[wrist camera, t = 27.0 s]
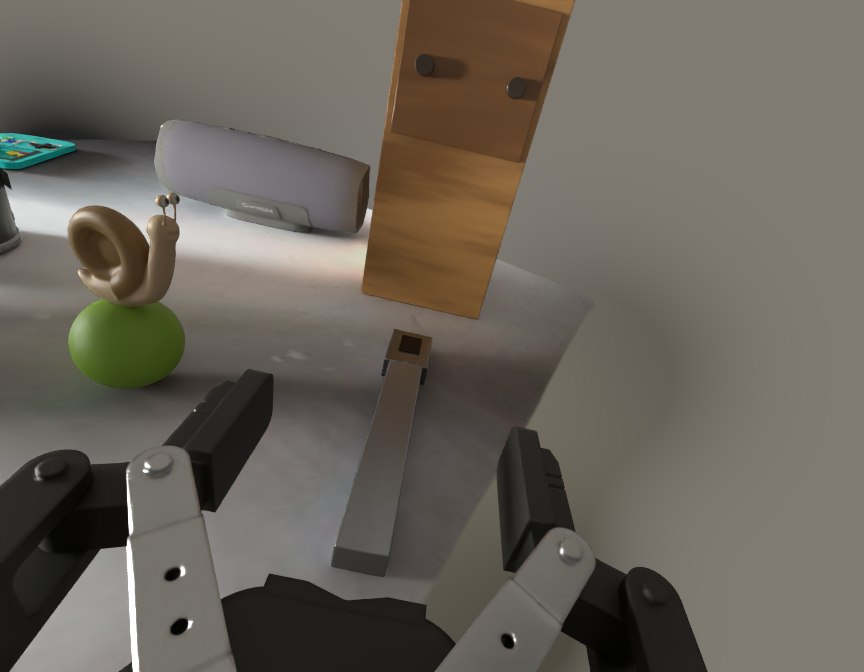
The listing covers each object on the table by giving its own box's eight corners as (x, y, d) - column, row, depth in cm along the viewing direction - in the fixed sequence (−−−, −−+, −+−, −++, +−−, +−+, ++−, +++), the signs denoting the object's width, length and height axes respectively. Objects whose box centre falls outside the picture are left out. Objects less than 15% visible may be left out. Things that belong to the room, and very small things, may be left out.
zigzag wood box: (478, 327, 41) (630, -166, 25) (357, 299, 41) (428, -222, 24) (475, 267, 56) (570, -69, 39) (386, 246, 55) (443, -102, 38)
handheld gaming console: (77, 141, 62) (14, 161, 50) (79, 149, 62) (16, 170, 50) (7, 129, 60) (-78, 147, 47) (9, 137, 60) (-75, 157, 48)
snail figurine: (156, 425, 23) (122, 206, 17) (53, 390, 24) (-14, 166, 18) (221, 373, 28) (212, 187, 22) (134, 344, 28) (102, 155, 22)
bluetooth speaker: (365, 231, 58) (375, 155, 54) (350, 253, 50) (361, 166, 45) (199, 194, 57) (193, 112, 52) (156, 210, 49) (145, 115, 44)
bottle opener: (392, 579, 19) (399, 557, 18) (321, 565, 19) (324, 542, 18) (428, 353, 35) (432, 336, 34) (390, 345, 35) (394, 327, 34)
